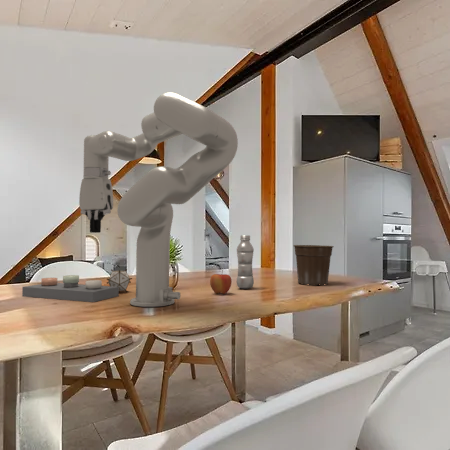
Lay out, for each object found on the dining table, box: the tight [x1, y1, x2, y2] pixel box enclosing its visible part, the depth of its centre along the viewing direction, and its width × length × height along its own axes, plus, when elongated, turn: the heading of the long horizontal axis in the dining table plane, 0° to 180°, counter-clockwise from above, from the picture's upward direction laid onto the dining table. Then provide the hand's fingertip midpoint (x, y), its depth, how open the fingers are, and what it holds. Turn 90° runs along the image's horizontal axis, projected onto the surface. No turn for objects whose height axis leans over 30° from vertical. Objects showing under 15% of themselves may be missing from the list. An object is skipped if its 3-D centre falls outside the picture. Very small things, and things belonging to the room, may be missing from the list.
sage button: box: [62, 274, 80, 288], centre depth 119 cm, size 5×5×5 cm
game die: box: [106, 268, 133, 293], centre depth 128 cm, size 9×8×10 cm
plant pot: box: [293, 244, 334, 286], centre depth 154 cm, size 16×16×16 cm
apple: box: [209, 270, 232, 295], centre depth 125 cm, size 7×7×8 cm
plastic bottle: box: [236, 234, 255, 290], centre depth 138 cm, size 6×7×20 cm
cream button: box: [84, 279, 103, 290], centre depth 116 cm, size 5×5×5 cm
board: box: [21, 282, 120, 303], centre depth 119 cm, size 28×12×3 cm, turn 70°
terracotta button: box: [40, 277, 58, 286], centre depth 122 cm, size 5×5×5 cm
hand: (95, 232), depth 117 cm, fingers closed
